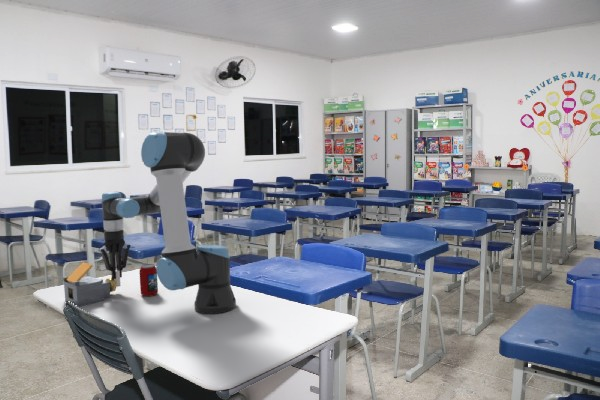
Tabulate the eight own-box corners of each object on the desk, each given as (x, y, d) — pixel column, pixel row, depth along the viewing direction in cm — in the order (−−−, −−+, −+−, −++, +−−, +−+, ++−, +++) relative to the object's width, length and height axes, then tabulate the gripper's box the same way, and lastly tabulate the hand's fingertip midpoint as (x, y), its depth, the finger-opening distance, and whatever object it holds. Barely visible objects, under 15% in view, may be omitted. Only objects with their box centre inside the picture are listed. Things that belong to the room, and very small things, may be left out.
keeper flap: (93, 266, 190) (91, 264, 190) (76, 284, 186) (74, 282, 185) (84, 263, 196) (82, 261, 195) (67, 280, 191) (66, 279, 191)
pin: (110, 289, 203) (109, 276, 202) (116, 292, 199) (115, 279, 198) (70, 299, 191) (69, 285, 191) (76, 301, 187) (75, 287, 187)
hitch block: (113, 298, 195) (111, 274, 194) (77, 307, 184) (75, 282, 183) (99, 292, 203) (98, 270, 202) (64, 301, 193) (62, 277, 192)
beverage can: (155, 296, 195) (153, 267, 194) (138, 297, 195) (136, 267, 194) (160, 292, 202) (158, 263, 201) (144, 292, 202) (142, 264, 201)
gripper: (124, 226, 207) (127, 281, 209) (94, 231, 198) (97, 287, 200) (132, 228, 202) (136, 284, 204) (102, 232, 192) (106, 291, 195)
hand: (117, 285), depth 202 cm, fingers closed
